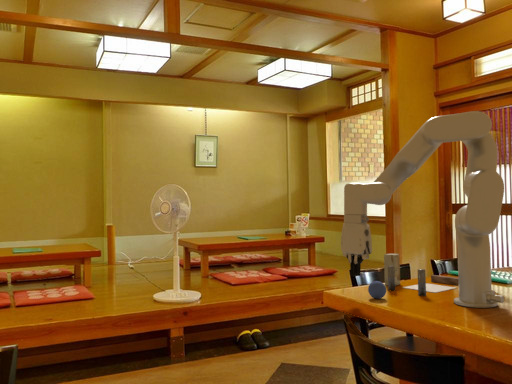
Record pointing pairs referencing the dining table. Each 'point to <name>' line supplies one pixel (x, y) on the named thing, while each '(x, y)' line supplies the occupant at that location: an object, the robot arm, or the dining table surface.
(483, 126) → the robot arm
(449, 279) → the strip
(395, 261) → the skincare box
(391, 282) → the far post
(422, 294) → the near post
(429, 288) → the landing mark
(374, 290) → the ball
